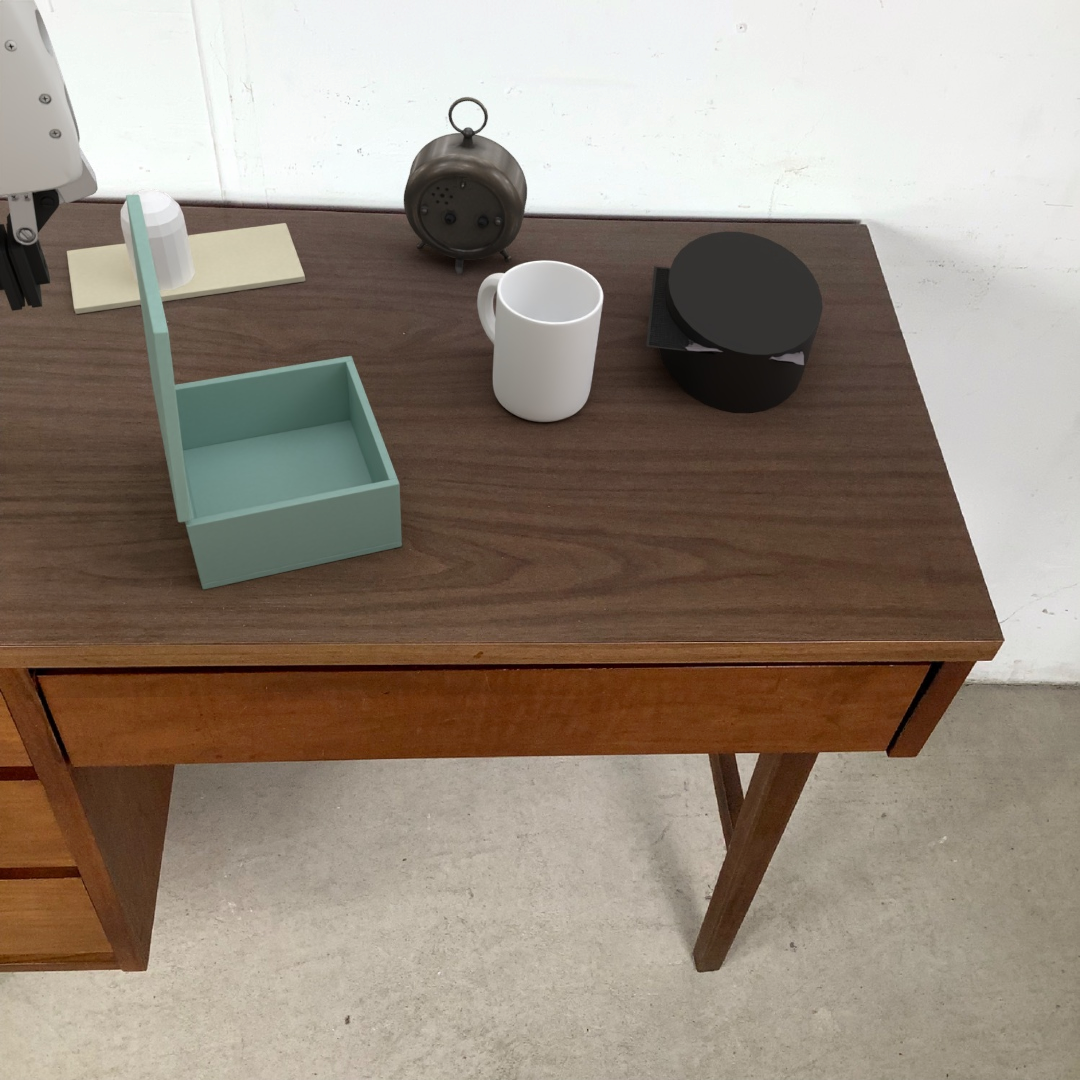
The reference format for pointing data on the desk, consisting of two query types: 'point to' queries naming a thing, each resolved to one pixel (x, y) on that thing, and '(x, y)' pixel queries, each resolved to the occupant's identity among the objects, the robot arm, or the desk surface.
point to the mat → (217, 264)
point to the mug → (542, 337)
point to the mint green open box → (284, 471)
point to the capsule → (162, 239)
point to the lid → (159, 356)
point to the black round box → (735, 320)
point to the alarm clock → (465, 195)
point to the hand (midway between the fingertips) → (26, 294)
